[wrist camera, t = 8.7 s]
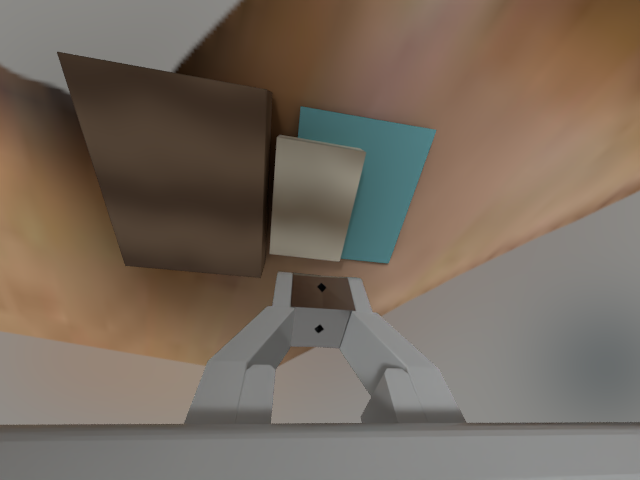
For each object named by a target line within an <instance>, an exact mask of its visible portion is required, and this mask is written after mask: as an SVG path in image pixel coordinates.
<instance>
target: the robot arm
mask: <svg viewBox="0 0 640 480" xmlns="http://www.w3.org/2000/svg"><path fill="white" fill-rule="evenodd" d="M290 346H294V347H327V348H340V351H341V352H342V354H343V355H344V357H345V358H346V360H347V361H348V363H349V364H350V366H351V367H352V369H353V370H354V372H355V373H356V375H357V376H358V378H359V379H360V381H361V382H362V383H363V385H364V386H365V388H366V389H367V391H368V392H369V394H370V395H371V399H370V401H369V403H368V404H367V406H366V408H365V410H364V412H363V414H362V416H361V421H362V423H324V424H323V423H316V424H315V423H312V424H309V423H306V424H305V423H302V424H271V413H272V404H273V393H274V383H275V372H276V368H277V367H278V365H279V364H280V362H281V361H282V359H283V358H284V356H285V355H286V353H287V352H288V350H289V349H290ZM0 480H640V422H591V423H590V422H580V423H579V422H577V423H575V422H574V423H466V421H465V419H464V417H463V415H462V413H461V411H460V409H459V407H458V405H457V403H456V401H455V399H454V397H453V395H452V393H451V391H450V389H449V387H448V386H447V383H446V381H445V379H444V377H443V375H442V373H441V372H440V370H439V368H437V366H436V365H434V364H433V363H432V362H431V361H430V360H429V359H428V358H427V357H426V356H424V355H423V354H422V353H421V352H420V351H419V350H418V349H417V348H416V347H414V346H413V345H412V344H411V343H410V342H409V341H408V340H406V338H404V337H403V336H402V335H401V334H400V333H399V332H398V331H396V330H395V329H394V328H393V327H392V326H391V325H390V324H389V323H388V322H387V321H386V320H384V319H383V318H382V317H381V316H380V315H379V314H378V313H373V312H372V309H371V306H370V303H369V300H368V297H367V294H366V291H365V288H364V285H363V282H362V280H361V279H360V278H353V277H333V276H320V275H311V274H301V273H293V274H292V273H290V272H279V271H278V274H277V279H276V285H275V291H274V298H273V304H272V306H267V307H266V308H265V309H264V310H263V311H262V312H261V313H259V314H258V315H257V316H256V317H255V318H254V319H253V320H252V321H251V322H250V323H249V324H248V325H246V326H245V327H244V328H243V329H242V330H241V331H240V332H239V333H238V334H237V335H236V336H235V337H233V338H232V339H231V340H230V341H229V342H228V343H227V344H226V345H225V346H224V347H223V348H222V349H220V350H219V351H218V352H217V353H216V354H215V355H214V356H213V357H212V358H211V359H210V360H209V361H208V362H207V365H206V367H205V370H204V372H203V375H202V378H201V380H200V383H199V386H198V388H197V391H196V393H195V396H194V399H193V401H192V404H191V407H190V409H189V412H188V414H187V417H186V420H185V422H184V424H79V425H78V424H73V425H72V424H71V425H70V424H69V425H67V424H64V425H0Z"/></svg>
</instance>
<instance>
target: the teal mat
mask: <svg viewBox="0 0 640 480" xmlns="http://www.w3.org/2000/svg"><path fill="white" fill-rule="evenodd" d="M435 133H436V130H433V129H428V128H422V127H416V126H410V125H405V124H399V123H393V122H388V121H382V120H376V119H370V118H365V117H359V116H353V115H348V114H342V113H336V112H330V111H325V110H319V109H313V108H308V107H302V106H301V109H300V120H299V130H298V138H302V139H308V140H314V141H320V142H326V143H331V144H337V145H343V146H349V147H355V148H361V149H362V150H364V151H365V152H366V156H365V160H364V164H363V168H362V172H361V176H360V181H359V185H358V189H357V193H356V197H355V201H354V205H353V209H352V213H351V217H350V221H349V226H348V230H347V234H346V238H345V242H344V246H343V250H342V254H341V258H340V259H350V260H360V261H369V262H379V263H389V261H390V258H391V255H392V252H393V250H394V247H395V244H396V241H397V239H398V236H399V233H400V230H401V227H402V225H403V222H404V219H405V216H406V213H407V211H408V208H409V205H410V202H411V200H412V197H413V194H414V191H415V188H416V186H417V183H418V180H419V177H420V174H421V172H422V169H423V166H424V163H425V161H426V158H427V155H428V152H429V149H430V147H431V144H432V141H433V138H434V135H435Z"/></svg>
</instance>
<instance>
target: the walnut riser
mask: <svg viewBox="0 0 640 480" xmlns="http://www.w3.org/2000/svg"><path fill="white" fill-rule="evenodd" d="M57 54H58V57H59V60H60V63H61V66H62V69H63V73H64V76H65V79H66V82H67V85H68V88H69V91H70V94H71V98H72V101H73V104H74V107H75V110H76V113H77V116H78V119H79V123H80V126H81V129H82V132H83V135H84V138H85V141H86V144H87V148H88V151H89V154H90V157H91V160H92V163H93V166H94V169H95V173H96V176H97V179H98V182H99V185H100V188H101V191H102V194H103V198H104V201H105V204H106V207H107V210H108V213H109V216H110V219H111V223H112V226H113V229H114V232H115V235H116V238H117V241H118V244H119V248H120V251H121V254H122V257H123V260H124V263H125V266H135V267H146V268H157V269H168V270H179V271H191V272H202V273H213V274H224V275H235V276H246V277H257V278H261V275H262V272H263V268H264V265H265V260H266V236H267V212H268V188H269V164H270V141H271V117H272V92H270V91H268V90H266V89H261V88H255V87H250V86H244V85H239V84H233V83H228V82H222V81H217V80H211V79H205V78H200V77H194V76H189V75H183V74H178V73H172V72H166V71H161V70H155V69H150V68H144V67H139V66H133V65H128V64H122V63H116V62H111V61H106V60H100V59H94V58H89V57H83V56H78V55H72V54H67V53H61V52H57Z"/></svg>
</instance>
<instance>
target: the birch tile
mask: <svg viewBox="0 0 640 480" xmlns="http://www.w3.org/2000/svg"><path fill="white" fill-rule="evenodd" d="M365 156H366V152H365V151H364V150H362V149H361V148H355V147H349V146H343V145H337V144H331V143H326V142H320V141H314V140H308V139H302V138H296V137H290V136H285V135H279V136H278V137H277V142H276V158H275V174H274V189H273V205H272V221H271V237H270V253H269V254H274V255H283V256H293V257H302V258H311V259H320V260H329V261H338V262H340V258H341V254H342V250H343V246H344V242H345V238H346V234H347V230H348V226H349V221H350V217H351V213H352V209H353V205H354V201H355V197H356V193H357V189H358V185H359V181H360V176H361V172H362V168H363V164H364V160H365Z"/></svg>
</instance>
